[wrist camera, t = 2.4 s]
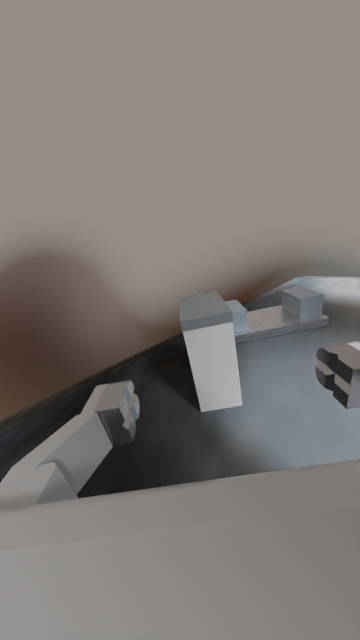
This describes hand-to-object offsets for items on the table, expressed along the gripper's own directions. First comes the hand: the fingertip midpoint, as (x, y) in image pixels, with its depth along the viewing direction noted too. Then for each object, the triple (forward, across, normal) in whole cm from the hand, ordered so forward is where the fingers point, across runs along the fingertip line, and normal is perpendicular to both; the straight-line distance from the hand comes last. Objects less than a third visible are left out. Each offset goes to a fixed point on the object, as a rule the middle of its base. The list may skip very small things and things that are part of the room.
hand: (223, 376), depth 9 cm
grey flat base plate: (+25, -13, +11) cm, 30 cm away
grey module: (+12, -1, +12) cm, 17 cm away
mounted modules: (+25, -13, +10) cm, 30 cm away
